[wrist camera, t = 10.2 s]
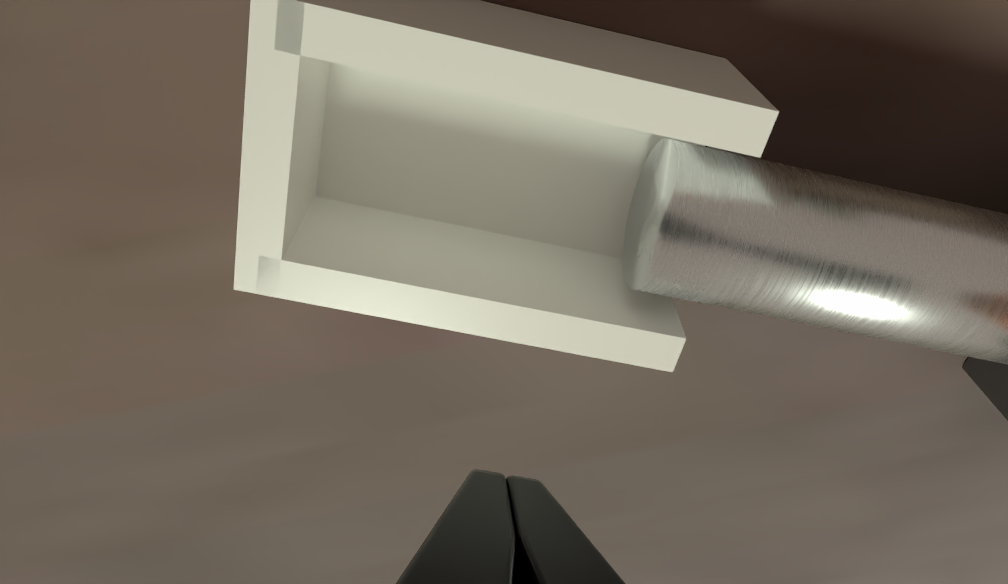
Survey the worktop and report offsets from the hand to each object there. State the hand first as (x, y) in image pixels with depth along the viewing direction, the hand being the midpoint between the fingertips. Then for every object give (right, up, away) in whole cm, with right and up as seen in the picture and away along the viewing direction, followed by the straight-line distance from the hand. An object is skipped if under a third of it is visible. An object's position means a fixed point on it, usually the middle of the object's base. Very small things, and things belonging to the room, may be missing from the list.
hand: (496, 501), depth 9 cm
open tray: (0, +7, +11) cm, 13 cm away
